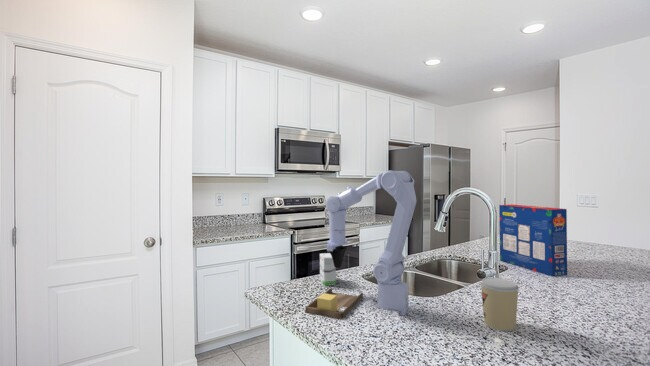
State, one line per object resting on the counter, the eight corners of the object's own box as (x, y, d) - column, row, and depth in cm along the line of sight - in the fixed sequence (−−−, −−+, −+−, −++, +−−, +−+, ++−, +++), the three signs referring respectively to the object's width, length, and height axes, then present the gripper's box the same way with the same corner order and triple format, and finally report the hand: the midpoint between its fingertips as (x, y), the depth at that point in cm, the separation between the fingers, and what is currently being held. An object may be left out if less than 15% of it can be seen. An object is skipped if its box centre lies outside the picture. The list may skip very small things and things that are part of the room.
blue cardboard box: (567, 275, 136) (566, 209, 135) (552, 276, 134) (551, 209, 134) (513, 259, 163) (512, 204, 163) (499, 260, 161) (499, 205, 161)
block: (337, 309, 99) (336, 295, 99) (330, 315, 95) (330, 300, 95) (324, 307, 101) (323, 293, 101) (317, 312, 97) (317, 298, 97)
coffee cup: (485, 315, 97) (485, 275, 97) (521, 323, 91) (521, 281, 91) (477, 326, 90) (476, 283, 90) (515, 336, 84) (515, 290, 84)
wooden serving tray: (363, 300, 110) (362, 292, 110) (342, 323, 93) (342, 313, 93) (330, 295, 115) (330, 288, 115) (305, 316, 98) (305, 307, 98)
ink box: (336, 287, 123) (336, 257, 123) (324, 288, 122) (323, 258, 122) (331, 281, 132) (331, 252, 132) (319, 282, 131) (319, 253, 131)
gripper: (335, 226, 124) (335, 261, 124) (318, 231, 111) (319, 271, 111) (352, 227, 121) (352, 263, 121) (337, 233, 108) (337, 273, 108)
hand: (337, 267), depth 116 cm, fingers closed
